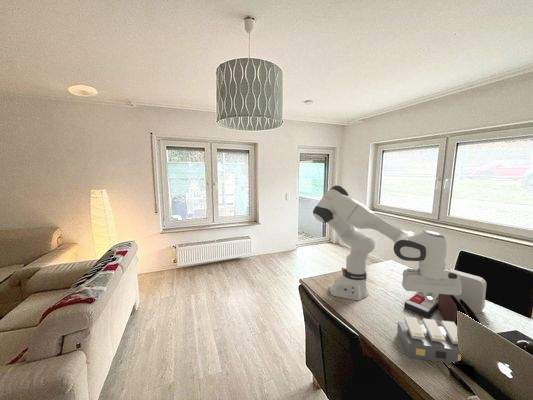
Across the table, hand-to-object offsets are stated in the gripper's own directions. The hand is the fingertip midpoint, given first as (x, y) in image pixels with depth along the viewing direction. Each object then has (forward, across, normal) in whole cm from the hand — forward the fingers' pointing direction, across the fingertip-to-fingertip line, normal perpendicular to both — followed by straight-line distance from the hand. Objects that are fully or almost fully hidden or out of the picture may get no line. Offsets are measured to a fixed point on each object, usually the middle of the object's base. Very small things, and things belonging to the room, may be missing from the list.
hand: (429, 301), depth 91 cm
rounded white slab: (+20, +25, +37) cm, 49 cm away
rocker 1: (+11, -6, -3) cm, 13 cm away
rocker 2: (+11, +1, -3) cm, 11 cm away
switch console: (+19, +1, -3) cm, 19 cm away
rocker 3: (+11, +8, -3) cm, 13 cm away
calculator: (+20, +8, +27) cm, 34 cm away
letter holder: (+20, +20, +18) cm, 33 cm away
